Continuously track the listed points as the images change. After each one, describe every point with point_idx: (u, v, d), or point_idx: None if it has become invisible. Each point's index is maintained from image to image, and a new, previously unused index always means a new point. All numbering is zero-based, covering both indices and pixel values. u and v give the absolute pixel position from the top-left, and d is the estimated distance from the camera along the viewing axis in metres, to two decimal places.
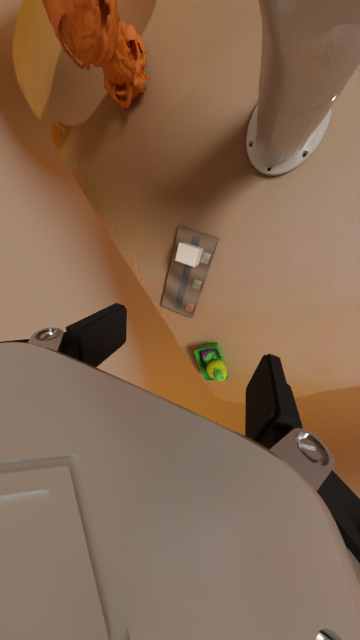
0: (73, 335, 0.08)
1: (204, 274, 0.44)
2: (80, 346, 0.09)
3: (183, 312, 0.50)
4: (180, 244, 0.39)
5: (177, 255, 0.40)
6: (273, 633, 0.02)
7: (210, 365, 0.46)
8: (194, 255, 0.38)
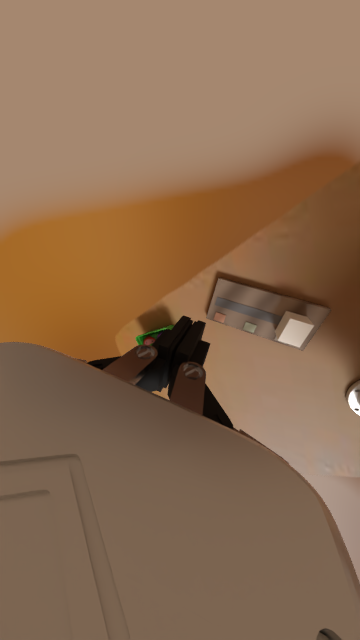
0: (165, 352, 0.08)
1: (261, 335, 0.39)
2: (168, 362, 0.09)
3: (211, 309, 0.40)
4: (311, 327, 0.31)
5: (296, 322, 0.31)
6: (273, 633, 0.02)
7: None
8: (292, 342, 0.33)
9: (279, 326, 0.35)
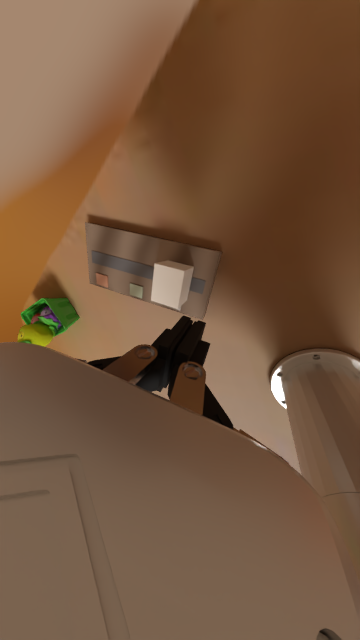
0: (165, 352, 0.08)
1: (152, 301, 0.28)
2: (168, 362, 0.09)
3: (91, 269, 0.30)
4: (181, 274, 0.20)
5: (163, 268, 0.21)
6: (273, 633, 0.02)
7: (32, 331, 0.32)
8: (167, 301, 0.23)
9: None
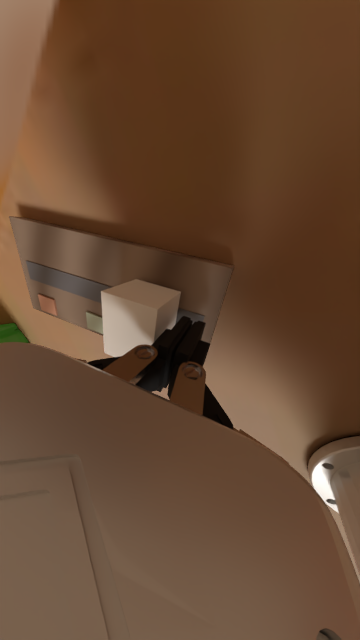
0: (165, 352, 0.08)
1: None
2: (168, 362, 0.09)
3: (31, 288, 0.20)
4: (152, 314, 0.10)
5: (117, 301, 0.11)
6: (273, 633, 0.02)
7: None
8: None
9: None
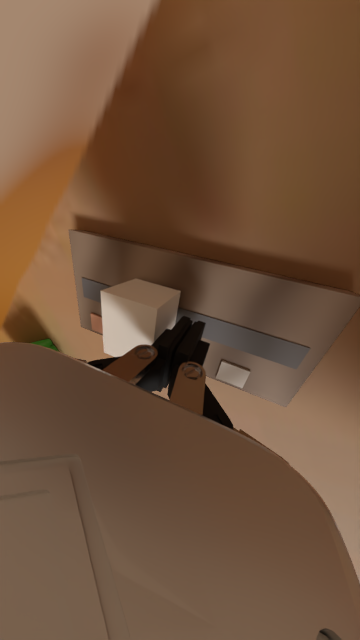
0: (165, 352, 0.08)
1: None
2: (168, 362, 0.09)
3: (83, 306, 0.18)
4: (152, 314, 0.10)
5: (117, 300, 0.11)
6: (273, 633, 0.02)
7: None
8: None
9: None
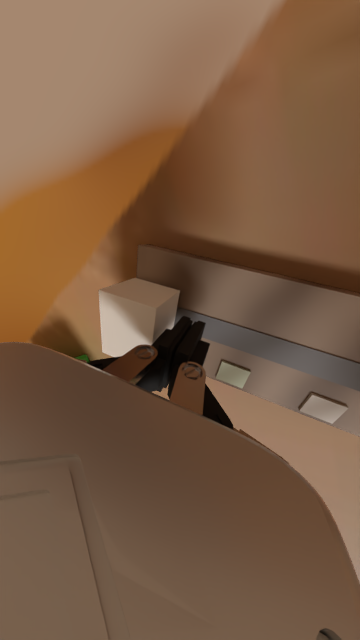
0: (165, 352, 0.08)
1: (265, 396, 0.15)
2: (168, 362, 0.09)
3: None
4: (150, 313, 0.10)
5: (115, 300, 0.10)
6: (273, 633, 0.02)
7: None
8: None
9: None
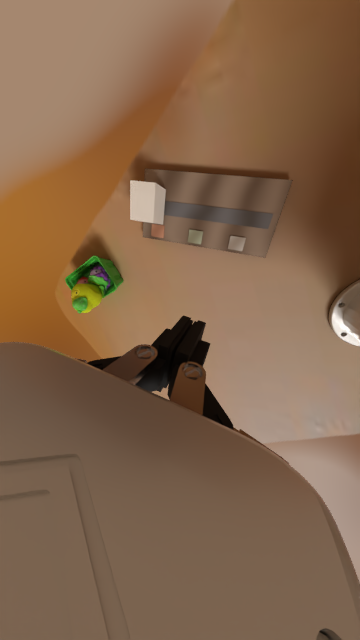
0: (165, 352, 0.08)
1: (212, 246, 0.29)
2: (168, 362, 0.09)
3: None
4: (153, 186, 0.24)
5: (137, 183, 0.25)
6: (273, 633, 0.02)
7: (87, 288, 0.32)
8: (144, 217, 0.26)
9: None
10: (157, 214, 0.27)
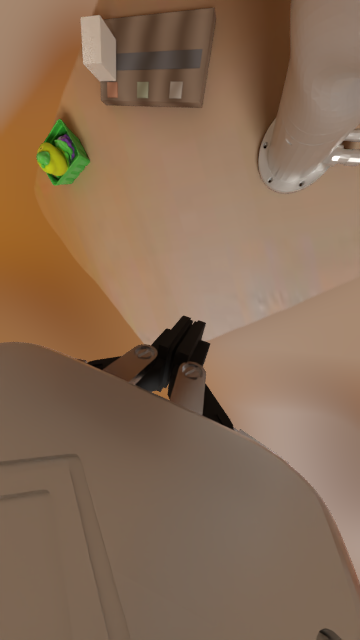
0: (165, 352, 0.08)
1: (156, 98, 0.33)
2: (168, 362, 0.09)
3: None
4: (98, 19, 0.28)
5: (86, 20, 0.29)
6: (273, 633, 0.02)
7: (50, 146, 0.37)
8: (93, 57, 0.30)
9: None
10: (106, 58, 0.31)
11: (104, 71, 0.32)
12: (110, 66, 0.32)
